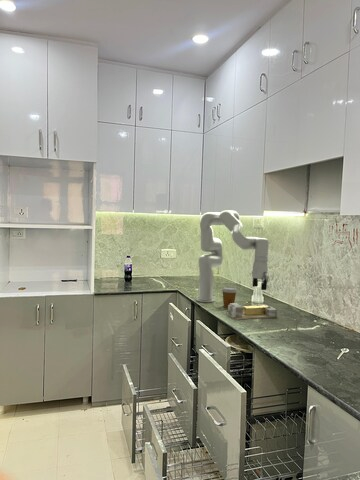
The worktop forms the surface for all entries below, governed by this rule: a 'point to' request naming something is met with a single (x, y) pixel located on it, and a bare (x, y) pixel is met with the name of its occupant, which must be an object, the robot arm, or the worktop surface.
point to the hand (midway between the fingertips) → (259, 288)
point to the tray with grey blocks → (237, 313)
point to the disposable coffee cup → (228, 295)
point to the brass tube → (254, 309)
